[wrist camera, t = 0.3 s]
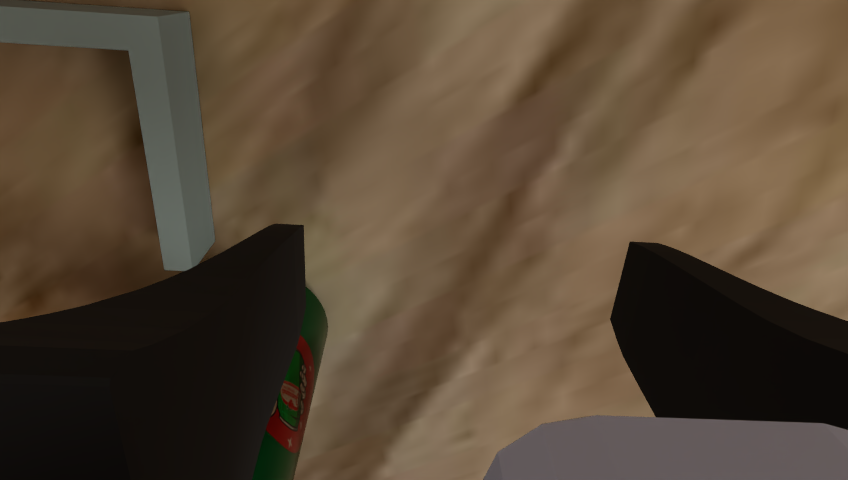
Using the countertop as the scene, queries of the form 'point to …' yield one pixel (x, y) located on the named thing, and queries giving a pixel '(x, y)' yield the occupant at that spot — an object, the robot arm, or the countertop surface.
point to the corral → (143, 104)
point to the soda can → (294, 399)
